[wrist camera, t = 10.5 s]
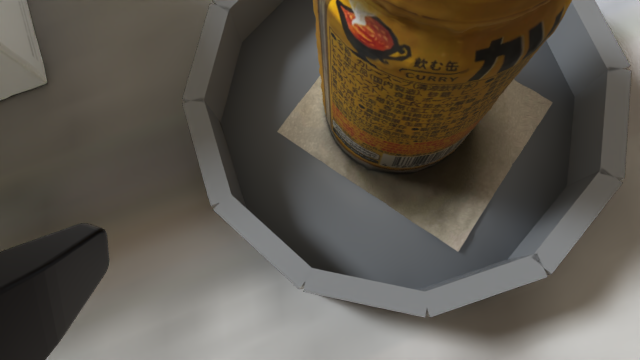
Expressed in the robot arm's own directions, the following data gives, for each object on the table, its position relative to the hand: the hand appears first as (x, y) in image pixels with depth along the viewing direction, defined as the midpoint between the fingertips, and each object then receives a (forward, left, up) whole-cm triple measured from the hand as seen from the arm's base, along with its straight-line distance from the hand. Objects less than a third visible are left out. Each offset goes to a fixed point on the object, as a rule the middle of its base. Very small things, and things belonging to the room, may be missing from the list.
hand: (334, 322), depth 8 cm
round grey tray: (+7, +3, -10) cm, 13 cm away
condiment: (+8, +3, -10) cm, 12 cm away
